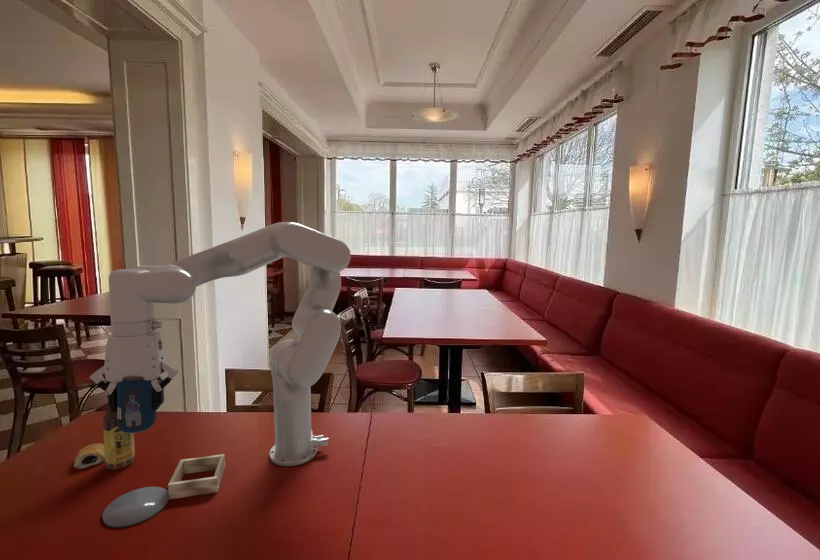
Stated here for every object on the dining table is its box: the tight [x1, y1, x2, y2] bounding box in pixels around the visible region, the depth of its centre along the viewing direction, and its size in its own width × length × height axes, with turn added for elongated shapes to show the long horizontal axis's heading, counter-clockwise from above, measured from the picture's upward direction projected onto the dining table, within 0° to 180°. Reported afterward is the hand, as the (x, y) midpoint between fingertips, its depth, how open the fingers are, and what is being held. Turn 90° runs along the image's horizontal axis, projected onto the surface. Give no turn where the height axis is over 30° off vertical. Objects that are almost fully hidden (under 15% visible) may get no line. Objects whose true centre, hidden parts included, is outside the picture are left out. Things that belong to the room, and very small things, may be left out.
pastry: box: [73, 442, 105, 470], centre depth 104 cm, size 9×7×4 cm
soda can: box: [117, 377, 157, 434], centre depth 85 cm, size 7×7×12 cm
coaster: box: [101, 486, 170, 529], centre depth 87 cm, size 12×12×1 cm
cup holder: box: [167, 453, 226, 500], centre depth 95 cm, size 10×10×4 cm
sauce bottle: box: [102, 394, 136, 471], centre depth 101 cm, size 6×6×20 cm
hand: (137, 407), depth 85 cm, fingers closed on soda can, 7 cm apart
